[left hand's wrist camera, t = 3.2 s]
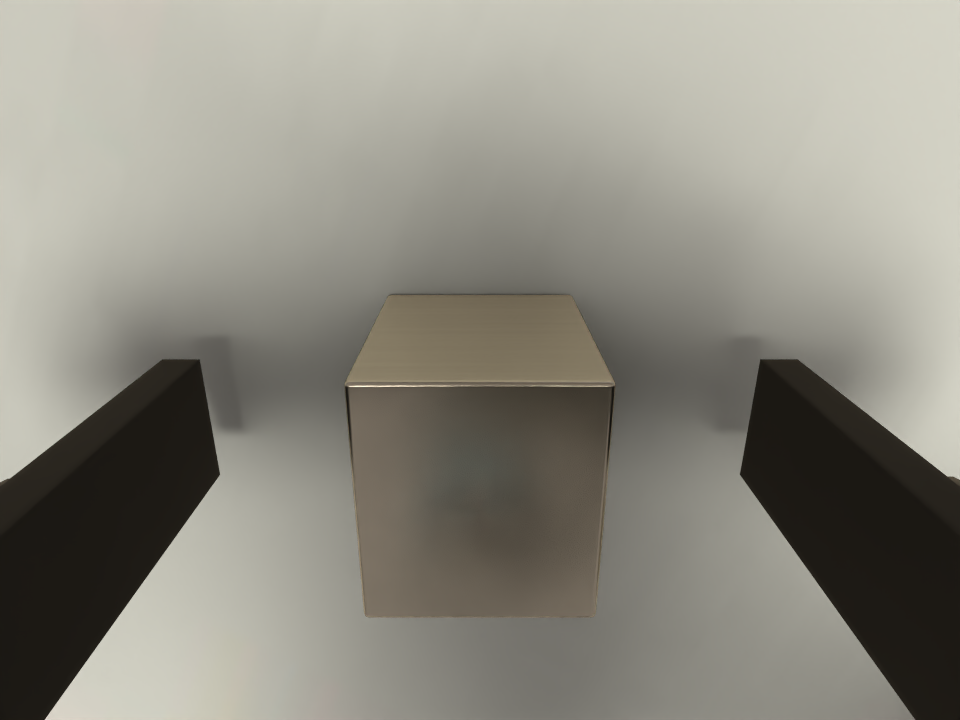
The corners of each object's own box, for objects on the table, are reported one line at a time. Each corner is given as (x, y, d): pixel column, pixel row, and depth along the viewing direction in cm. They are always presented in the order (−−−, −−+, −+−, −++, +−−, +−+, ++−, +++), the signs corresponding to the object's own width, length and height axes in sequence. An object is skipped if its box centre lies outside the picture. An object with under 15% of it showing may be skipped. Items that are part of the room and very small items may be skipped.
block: (572, 293, 14) (617, 382, 9) (562, 472, 16) (596, 619, 11) (387, 293, 14) (342, 382, 9) (397, 472, 16) (363, 619, 11)
